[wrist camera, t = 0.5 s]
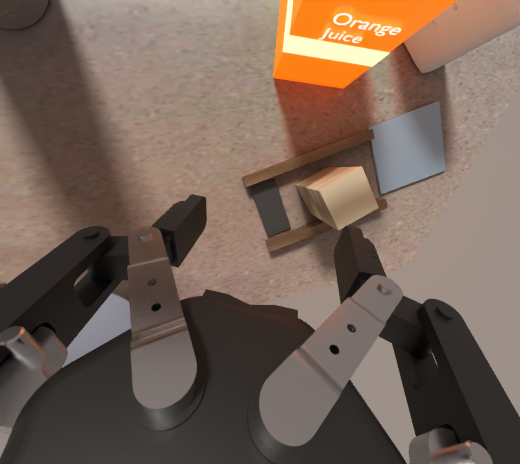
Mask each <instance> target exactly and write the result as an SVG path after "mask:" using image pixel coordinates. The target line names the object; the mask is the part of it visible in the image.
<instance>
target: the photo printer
mask: <svg viewBox="0 0 520 464" xmlns="http://www.w3.org/2000/svg"><path fill="white" fill-rule="evenodd" d="M519 25H520V0H457V1H455V2H454V4H453V5H450V6H449V7H448V8H446V9H445V10H444V11H442V12H441V13H440V14H438V15H437V16H436V17H435V18H433V19H432V20H431V21H429V22H428V23H427V24H426V25H424V26H423V27H422V28H420V29H419V30H418V31H417V32H415V33H414V34H413V35H411V36H410V37H409V38H408V39H406V40H405V41H404V44H405V46H406V47H407V49H408V51H409V53H410V55H411V57H412V59H413V61H414V62H415V64H416V66H417V68H418V69H419V70H420V72H421V73H426V72H431V71H433V70H435V69H437V68H439V67H441V66H443V65H445V64H447V63H448V62H450V61H452V60H454V59H456V58H458V57H460V56H462V55H464V54H466V53H467V52H469V51H471V50H473V49H475V48H477V47H479V46H481V45H483V44H484V43H486V42H488V41H490V40H492V39H494V38H496V37H498V36H500V35H501V34H503V33H505V32H507V31H509V30H511V29H513V28H515V27H517V26H519Z"/></svg>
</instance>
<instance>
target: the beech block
mask: <svg viewBox="0 0 520 464" xmlns="http://www.w3.org/2000/svg"><path fill="white" fill-rule="evenodd" d="M296 186H297V188H298V190H299V192H300V194H301V196H302V198H303V200H304V202H305V204H306V206H307V208H308V210H309V212H310V213H311V214H312V215H314V216H315V217H317V218H319V219H320V220H322V221H324V222H325V223H327V224H329V225H330V226H332V227H334V228H335V229H337V230H340V229H342V228H344V227H345V226H347V225H349V224H351V223H353V222H354V221H356V220H358V219H360V218H361V217H363V216H365V215H367V214H369V213H370V212H372V211H374V210H376V209H377V208H379V207H378V205H377V202H376V200H375V197H374V195H373V192H372V190H371V187H370V185H369V182H368V180H367V177H366V175H365V172H364V170H363V167H325V168H324V169H322V170H320V171H319V172H317V173H315V174H314V175H312V176H310V177H308V178H307V179H305V180H303V181H302V182H300V183H298V184H297V185H296Z"/></svg>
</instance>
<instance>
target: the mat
mask: <svg viewBox="0 0 520 464" xmlns="http://www.w3.org/2000/svg"><path fill="white" fill-rule="evenodd" d="M370 129H373V132H374V138H375V139H372V140H370V146H371V151H372V157H373V162H374V167H375V172H376V177H377V183H378V188H379V193H380V194H384V193H386V192H389V191H392V190H394V189H397V188H400V187H402V186H405V185H408V184H410V183H413V182H416V181H419V180H421V179H424V178H427V177H429V176H432V175H435V174H437V173H440V172H443V171H445V170H446V163H445V153H444V143H443V132H442V122H441V112H440V102H439V101H437V102H434V103H431V104H429V105H426V106H423V107H421V108H418V109H415V110H413V111H410V112H407V113H405V114H402V115H399V116H397V117H394V118H391V119H389V120H386V121H383V122H381V123H378V124H375V125H373V126H370V127H368V128H367V130H370Z"/></svg>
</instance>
